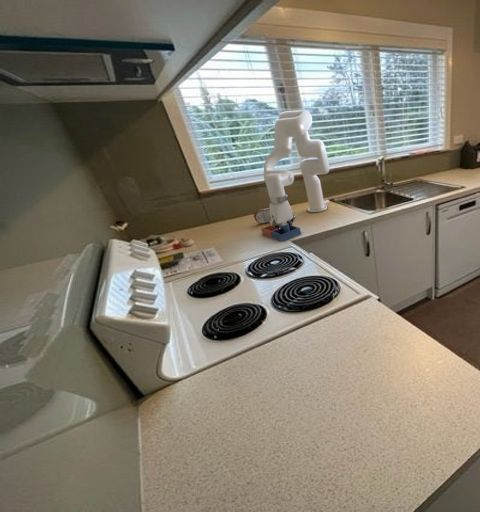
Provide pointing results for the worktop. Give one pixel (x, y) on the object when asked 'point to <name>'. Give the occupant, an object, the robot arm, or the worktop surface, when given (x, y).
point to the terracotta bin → (267, 231)
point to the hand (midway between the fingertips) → (286, 233)
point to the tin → (262, 215)
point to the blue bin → (286, 234)
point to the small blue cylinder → (285, 227)
